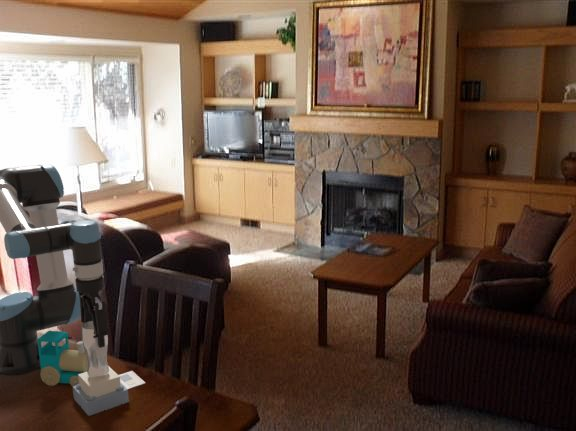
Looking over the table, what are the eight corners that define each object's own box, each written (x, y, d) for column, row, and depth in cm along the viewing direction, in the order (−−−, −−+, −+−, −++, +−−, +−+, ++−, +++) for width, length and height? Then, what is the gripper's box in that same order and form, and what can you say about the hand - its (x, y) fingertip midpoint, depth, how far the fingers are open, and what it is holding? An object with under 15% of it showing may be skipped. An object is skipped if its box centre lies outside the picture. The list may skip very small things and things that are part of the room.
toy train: (91, 389, 188) (86, 344, 185) (41, 385, 191) (35, 340, 188) (103, 376, 196) (99, 332, 192) (55, 372, 199) (50, 329, 195)
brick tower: (73, 398, 183) (71, 374, 181) (112, 385, 190) (110, 361, 188) (88, 416, 174) (85, 390, 172) (128, 401, 181) (126, 376, 179)
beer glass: (81, 377, 177) (76, 328, 173) (92, 366, 184) (87, 319, 180) (104, 378, 176) (100, 329, 172) (114, 367, 183) (110, 320, 179)
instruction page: (111, 378, 195) (111, 377, 195) (132, 371, 199) (132, 370, 199) (124, 390, 187) (124, 389, 187) (145, 383, 191) (145, 382, 191)
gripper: (64, 270, 178) (71, 344, 184) (88, 288, 163) (96, 368, 168) (89, 264, 183) (96, 337, 188) (116, 282, 167) (122, 360, 173)
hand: (96, 351), depth 178 cm, fingers closed on beer glass, 7 cm apart
